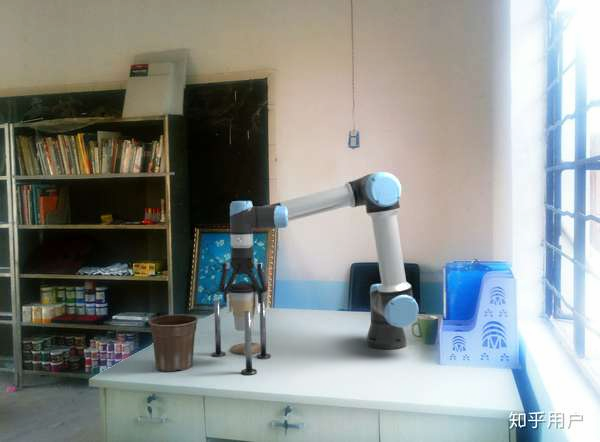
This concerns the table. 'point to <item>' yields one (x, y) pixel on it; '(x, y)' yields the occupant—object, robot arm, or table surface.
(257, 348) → the coaster
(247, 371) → the pole outer
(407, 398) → the table surface
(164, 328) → the plant pot
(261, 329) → the pole corner
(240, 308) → the coffee cup
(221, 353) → the pole far
